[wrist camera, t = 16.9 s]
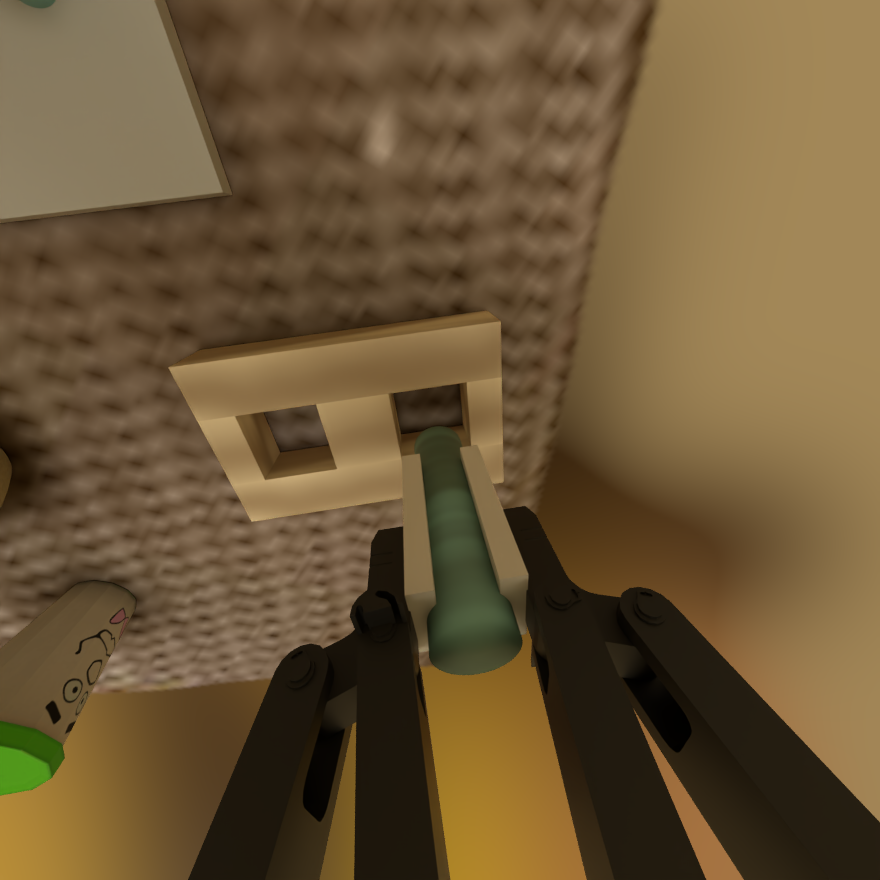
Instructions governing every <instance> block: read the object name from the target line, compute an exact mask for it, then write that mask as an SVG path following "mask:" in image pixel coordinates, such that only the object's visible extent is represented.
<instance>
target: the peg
mask: <svg viewBox="0 0 880 880" xmlns="http://www.w3.org/2000/svg"><path fill="white" fill-rule="evenodd" d="M460 447H463V446H462V443H461V440H460V438H459V436H458V434H457V433H456V432H455V431H453V430H452V429H450V428H448V427H443V426H435V427H431V428H428V429H426V430H424V431H423V432H422V433H421V434H420V435H419V436H418V437H417V439H416V441H415V445H414V452H415V454H420V458H421V464H422V473H423V482H424V492H425V501H426V510H427V520H428V529H429V538H430V548H431V557H432V566H433V576H434V585H435V594H436V605H435V606H434V607H433V608H432V609H431V611H430V612H429V614H428V617H427V633H428V647H429V658H430V661H431V662H432V664H433V665H434V666H435V667H436V668H438V669H439V670H441V671H444V672H446V673H450V674H456V675H474V674H480V673H485V672H489V671H492V670H495V669H497V668H499V667H501V666H503V665H505V664H507V663H508V662H510V661H511V660H512V659H513V658H514V657H515V656H516V655H517V654H518V653H519V651H520V649H521V647H522V637H521V633H520V630H519V627H518V624H517V620H516V617H515V614H514V611H513V608H512V605H511V603H510V601H509V600H508V599H507V598H506V597H505V596H503V595H501V594H500V591H499V588H498V585H497V581H496V578H495V574H494V571H493V567H492V564H491V561H490V557H489V554H488V550H487V547H486V543H485V540H484V537H483V533H482V530H481V526H480V523H479V519H478V516H477V513H476V509H475V506H474V502H473V499H472V495H471V492H470V488H469V485H468V482H467V478H466V475H465V471H464V468H463V464H462V461H461V455H460Z"/></svg>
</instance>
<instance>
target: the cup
mask: <svg viewBox="0 0 880 880" xmlns="http://www.w3.org/2000/svg"><path fill="white" fill-rule="evenodd" d="M135 609H136V599H135V598H134V596H133V595H132V594H131V593H130V592H129V591H128V590H126V589H124V588H122V587H120V586H117V585H115V584H113V583H108V582H101V581H94V580H93V581H87V582H81V583H77V584H76V585H75V586H74V587H72V588H71V589H70V590H69V591H68V592H66V593H65V594H64V595H63V596H62V597H61V598H59V599H58V600H57V601H56V602H55V603H53V604H52V605H51V606H50V607H49V608H48V609H46V610H45V611H44V612H43V613H42V614H41V615H39V616H38V617H37V618H36V619H35V620H33V621H32V622H31V623H30V624H29V625H28V626H26V627H25V628H24V629H23V630H22V631H21V632H19V633H18V634H17V635H16V636H15V637H13V638H12V639H11V640H10V641H9V642H8V643H6V644H5V645H4V646H3V647H2V648H1V649H0V795H5V794H11V793H17V792H22V791H27V790H33V789H34V788H36V787H38V786H39V785H41V784H43V783H44V782H46V781H48V780H49V779H51V778H52V777H53V775H54V774H55V772H56V771H57V769H58V768H59V766H60V765H61V763H62V761H63V760H64V758H65V757H64V751H63V745H64V742H65V741H66V739H67V737H68V735H69V733H70V731H71V730H72V728H73V726H74V724H75V722H76V720H77V718H78V716H79V714H80V713H81V711H82V709H83V707H84V705H85V703H86V701H87V699H88V697H89V695H90V694H91V692H92V690H93V688H94V686H95V684H96V682H97V680H98V679H99V677H100V675H101V673H102V671H103V669H104V667H105V665H106V663H107V662H108V660H109V658H110V656H111V654H112V652H113V650H114V648H115V646H116V645H117V643H118V641H119V639H120V637H121V635H122V633H123V631H124V629H125V628H126V626H127V624H128V622H129V620H130V618H131V616H132V614H133V612H134V611H135Z"/></svg>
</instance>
